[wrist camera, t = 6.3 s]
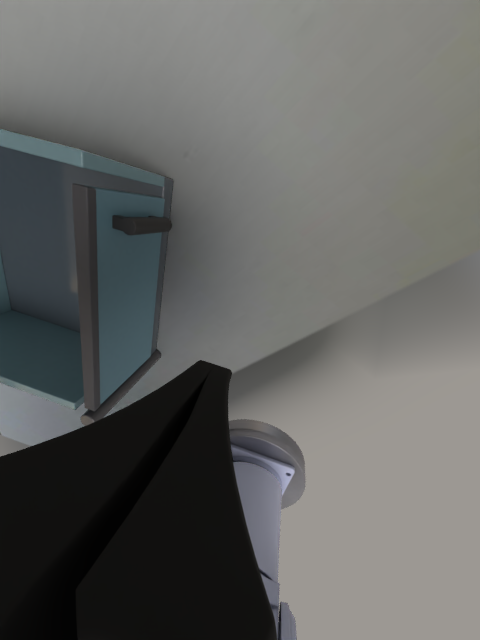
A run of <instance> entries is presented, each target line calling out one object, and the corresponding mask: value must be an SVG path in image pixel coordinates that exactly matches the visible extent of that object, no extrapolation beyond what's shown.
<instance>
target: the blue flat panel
mask: <svg viewBox="0 0 480 640" xmlns="http://www.w3.org/2000/svg"><path fill="white" fill-rule="evenodd" d="M72 200H73V217H74V234H75V251H76V268H77V285H78V302H79V319H80V336H81V353H82V370H83V387H84V404H85V408H87V409H89V410H92V411H96V410H97V409H98V408H99V407H100V405H101V404H102V403H103V402H104V401H105V400H106V399H107V398H108V397H109V396H110V395H111V394H112V393H113V392H114V391H115V390H116V389H117V388H118V387H119V386H120V385H121V384H123V383H124V382H125V381H126V380H127V379H128V378H129V377H130V376H131V375H132V374H133V373H134V372H135V371H136V370H137V369H138V368H139V367H140V366H141V365H142V364H143V363H144V362H145V361H146V360H147V359H148V358H149V357H150V356H151V346H152V335H153V324H154V313H155V302H156V291H157V280H158V269H159V257H160V246H161V235H162V232H168V231H170V229H171V227H172V224H171V221H170V220H169V219H168V218H166V217H163V213H164V202H165V199H164V198H160V197H156V196H149V195H143V194H137V193H130V192H124V191H118V190H111V189H105V188H99V187H92V186H86V185H81V184H75V183H73V184H72Z"/></svg>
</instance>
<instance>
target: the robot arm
mask: <svg viewBox="0 0 480 640" xmlns="http://www.w3.org/2000/svg"><path fill="white" fill-rule="evenodd" d="M231 375H232V372H231V370H230V369H227V368H224V367H221V366H218V365H214V364H211V363H208V362H205V361H202V360H200V361H198V362H196V363H195V364H194V365H192V366H191V367H190V368H188V369H187V370H186V371H184V372H183V373H181V374H180V375H179V376H177V377H176V378H174V379H173V380H171V381H170V382H168V383H167V384H165V385H163V386H162V387H160V388H159V389H157V390H155V391H154V392H152V393H150V394H149V395H147V396H145V397H143V398H142V399H140V400H138V401H136V402H135V403H133V404H131V405H129V406H127V407H125V408H123V409H121V410H119V411H117V412H115V413H113V414H111V415H109V416H107V417H105V418H102V419H100V420H98V421H96V422H93V423H91V424H89V425H86V426H84V427H82V428H79V429H77V430H74V431H72V432H70V433H67V434H64V435H62V436H59V437H56V438H53V439H51V440H48V441H45V442H42V443H40V444H37V445H34V446H31V447H28V448H26V449H23V450H20V451H17V452H14V453H11V454H7V455H4V456H1V457H0V640H297V638H296V623H295V618H294V616H293V614H292V612H291V611H290V609H289V605H288V603H284V602H281V603H280V611H279V622H278V610H279V585H280V584H279V583H278V563H279V540H280V517H281V497H282V495H283V493H284V491H285V490H286V488H287V486H288V484H289V482H290V480H291V478H292V476H293V475H294V473H295V468H294V467H293V466H291V465H289V464H286V463H283V462H280V461H278V460H275V459H272V458H269V457H266V456H264V455H261V454H258V453H255V452H253V451H250V450H247V449H244V448H241V447H239V446H236V445H233V444H231V443H230V434H229V422H228V390H229V382H230V379H231Z"/></svg>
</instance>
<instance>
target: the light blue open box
mask: <svg viewBox="0 0 480 640" xmlns="http://www.w3.org/2000/svg"><path fill="white" fill-rule="evenodd" d="M73 183H75V184H81V185H86V186H92V187H99V188H105V189H111V190H118V191H124V192H130V193H137V194H143V195H149V196H156V197H160V198H164V199H165V202H164V213H163V217H166V218H168V219H170V209H171V199H172V189H173V179H171V178H168V177H165V176H162V175H158V174H155V173H152V172H149V171H146V170H143V169H140V168H137V167H134V166H131V165H128V164H124V163H121V162H118V161H115V160H112V159H109V158H106V157H103V156H100V155H97V154H94V153H91V152H87V151H84V150H81V149H77V148H73V147H70V146H66V145H62V144H58V143H54V142H50V141H46V140H42V139H39V138H35V137H31V136H27V135H23V134H19V133H15V132H11V131H8V130H4V129H0V383H3V384H5V385H8V386H11V387H13V388H16V389H19V390H22V391H24V392H27V393H30V394H33V395H35V396H38V397H41V398H43V399H46V400H49V401H52V402H54V403H57V404H60V405H63V406H65V407H68V408H71V409H73V410H76V409H77V408H78V407H79V406H80V405H81V404H83V403H84V387H83V370H82V353H81V336H80V319H79V302H78V285H77V268H76V251H75V234H74V217H73V200H72V184H73ZM167 239H168V232H162V235H161V246H160V257H159V269H158V280H157V291H156V302H155V313H154V324H153V335H152V346H151V356H150V357H149V358H148V359H147V360H146V361H145V362H144V363H143V364H142V365H141V366H140V367H139V368H138V369H137V370H136V371H135V372H134V373H133V374H132V375H131V376H130V377H129V378H128V379H127V380H126V381H125V382H124V383H123V384H121V385H120V386H119V387H118V388H117V389H116V390H115V391H114V392H113V393H112V394H111V395H110V396H109V397H108V398H107V399H106V400H105V401H104V402H103V403H102V404H101V405H100V407H99V408H98V409H97V410H96V411H92V410H89V409H88V410H87V411H86V412H85V413H84V414H83V415H82V416H81V422H82V423H83V424H84V425H85V426H86V425H89V424H91V423H93V422H96V421H98V420H100V419H102V418H103V417H104V416H105V415H106V414H107V413H108V412H109V411H110V410H111V409H112V408H113V407H114V406H115V405H116V404H117V403H118V402H119V401H120V400H121V398H122V397H123V396H124V395H125V394H126V393H127V392H128V391H129V390H130V389H131V388H132V387H133V386H134V385H135V384H136V383H137V382H138V381H139V380H140V379H141V378H142V377H143V376H144V374H145V373H146V372H147V371H148V370H149V369H150V368H151V367H152V366H153V365H154V364H155V363H156V362H157V361H158V360H159V359H160V358H161V354H160V352H159V351H158V350H156V347H157V337H158V327H159V317H160V307H161V297H162V288H163V278H164V268H165V258H166V248H167Z"/></svg>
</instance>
